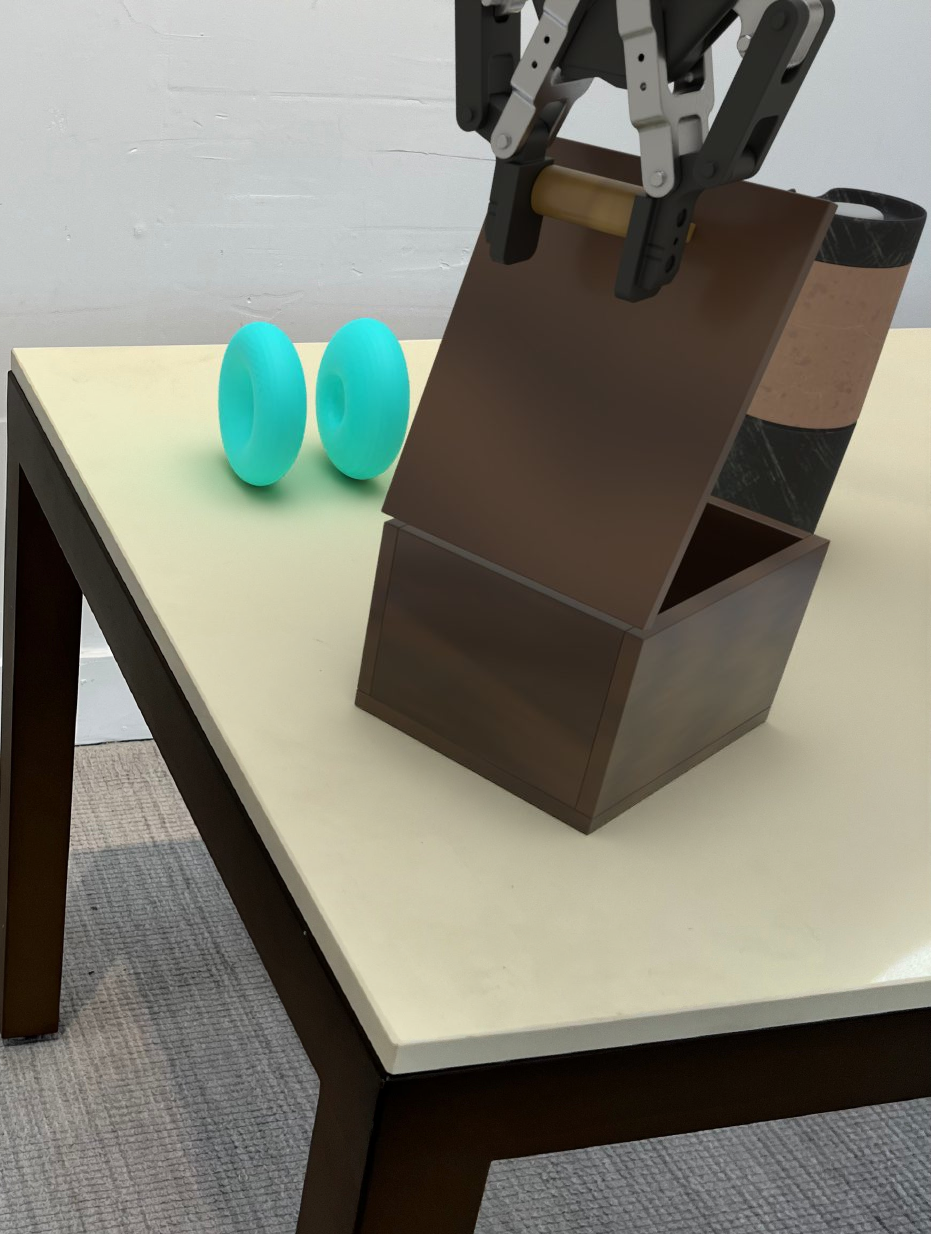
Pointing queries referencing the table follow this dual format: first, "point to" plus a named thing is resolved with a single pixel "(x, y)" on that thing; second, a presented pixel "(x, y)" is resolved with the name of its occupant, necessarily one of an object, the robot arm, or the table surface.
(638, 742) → the chest
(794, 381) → the travel mug
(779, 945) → the table surface
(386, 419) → the donuts
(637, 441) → the lid
